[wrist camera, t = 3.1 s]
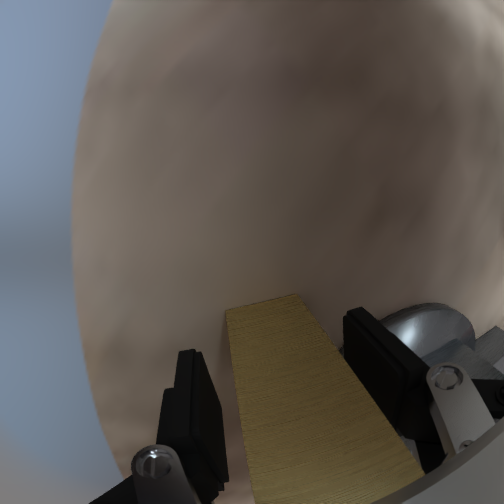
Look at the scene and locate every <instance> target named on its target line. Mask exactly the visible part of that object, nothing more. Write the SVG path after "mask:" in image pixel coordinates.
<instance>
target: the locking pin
mask: <svg viewBox="0 0 504 504" xmlns="http://www.w3.org/2000/svg"><path fill="white" fill-rule="evenodd" d="M225 311H226V320H227V328H228V336H229V344H230V351H231V359H232V366H233V373H234V380H235V387H236V394H237V401H238V407H239V414H240V420H241V427H242V433H243V439H244V445H245V451H246V457H247V462H248V468H249V474H250V479H251V485H252V490H253V495H254V500H255V504H370V503H372V502H374V501H377V500H379V499H381V498H383V497H385V496H387V495H389V494H391V493H394V492H396V491H397V490H399V489H401V488H403V487H405V486H407V485H409V484H411V483H413V482H414V481H416V480H418V479H420V478H421V477H423V476H425V475H426V474H425V473H424V471H423V470H422V469H421V467H420V466H419V464H418V463H417V461H416V460H415V458H414V457H413V456H412V454H411V453H410V451H409V450H408V448H407V447H406V445H405V444H404V443H403V441H402V440H401V438H400V437H399V435H398V434H397V433H396V431H395V430H394V428H393V427H392V425H391V424H390V423H389V421H388V420H387V418H386V417H385V416H384V414H383V413H382V411H381V410H380V408H379V407H378V406H377V404H376V403H375V401H374V400H373V399H372V397H371V396H370V394H369V393H368V392H367V390H366V389H365V387H364V386H363V385H362V383H361V382H360V380H359V379H358V378H357V376H356V375H355V373H354V372H353V371H352V369H351V368H350V366H349V365H348V364H347V362H346V361H345V359H344V358H343V357H342V355H341V354H340V353H339V351H338V350H337V348H336V347H335V346H334V344H333V343H332V341H331V340H330V339H329V337H328V336H327V335H326V333H325V332H324V330H323V329H322V328H321V326H320V325H319V324H318V322H317V321H316V319H315V318H314V317H313V315H312V314H311V313H310V311H309V310H308V309H307V307H306V306H305V304H304V303H303V302H302V300H301V299H300V298H299V296H298V295H297V294H294V295H290V296H286V297H281V298H277V299H273V300H269V301H265V302H260V303H256V304H252V305H247V306H243V307H238V308H234V309H229V310H225Z"/></svg>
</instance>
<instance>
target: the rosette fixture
mask: <svg viewBox="0 0 504 504" xmlns="http://www.w3.org/2000/svg"><path fill="white" fill-rule="evenodd" d="M379 322H380V323H381V324H382V325H383V326H384V327H385V328H387V329H388V330H389V331H390V332H392V333H393V334H395V335H396V336H397V337H398V338H399V339H400V340H401V341H402V342H403V343H404V344H405V345H407V346H408V347H409V348H410V349H411V350H412V351H413V352H414V353H415V354H416V355H417V356H418V357H420V358H421V359H422V360H423V361H424V362H425V363H426V364H427V365H428V366H429V367H430V368H432V367H433V366H434V365H436V364H439V363H444V362H451V363H455V364H458V365H460V366H461V367H463V369H464V370H465V371H466V372H467V374H468V376H469V377H470V379H497V380H504V331H503V330H502V329H500V328H499V327H497V326H495V327H494V328H492V329H491V330H490V331H488V332H487V333H485V334H484V335H483V336H481V337H480V338H478V339H477V340H475V332H474V329H473V326H472V324H471V323H470V321H469V320H468V319H467V318H466V317H465V316H464V315H463V314H461V313H460V312H458V311H457V310H455V309H453V308H451V307H449V306H447V305H444V304H440V303H425V304H419V305H415V306H412V307H408V308H405V309H402V310H400V311H398V312H396V313H394V314H391V315H389V316H387V317H385V318H384V319H382V320H380V321H379ZM339 353H340V354H341V355H342V357H343V358H344V346H343V347H342V348H341V349H340V350H339ZM400 438H401V440H402V441H403V443H404V444H405V445H406V447H407V448H408V450H409V451H410V453H411V454H412V451H411V447H410V443H409V439H405V437H404V436H401V437H400ZM412 456H413V455H412Z"/></svg>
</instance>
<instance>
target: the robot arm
mask: <svg viewBox="0 0 504 504" xmlns="http://www.w3.org/2000/svg"><path fill="white" fill-rule="evenodd" d="M343 336H344V359H345V361H346V362H347V364H348V365H349V366H350V368H351V369H352V371H353V372H354V373H355V375H356V376H357V378H358V379H359V380H360V382H361V383H362V385H363V386H364V387H365V389H366V390H367V392H368V393H369V394H370V396H371V397H372V399H373V400H374V401H375V403H376V404H377V406H378V407H379V408H380V410H381V411H382V413H383V414H384V416H385V417H386V418H387V420H388V421H389V423H390V424H391V425H392V427H393V428H394V430H395V431H396V433H397V434H398V435H399V437H401V436H404V437H405V439H409V443H410V447H411V451H412V455H413V457H414V458H415V460H416V461H417V463H418V464H419V466H420V467H421V469H422V470H423V471H424V473H425V474H426V475H425V476H423V477H421V478H420V479H418V480H416V481H414V482H413V483H411V484H409V485H407V486H405V487H403V488H401V489H399V490H397V491H396V492H394V493H391V494H389V495H387V496H385V497H383V498H381V499H379V500H377V501H374V502H372V503H370V504H504V380H497V379H470V377H469V376H468V374H467V372H466V371H465V370H464V369H463V367H461V366H460V365H458V364H455V363H451V362H444V363H439V364H436V365H434V366H433V367H432V368H430V367H429V366H428V365H427V364H426V363H425V362H424V361H423V360H422V359H421V358H420V357H418V356H417V355H416V354H415V353H414V352H413V351H412V350H411V349H410V348H409V347H408V346H407V345H405V344H404V343H403V342H402V341H401V340H400V339H399V338H398V337H397V336H396V335H395V334H393V333H392V332H390V331H389V330H388V329H387V328H385V327H384V326H383V325H382V324H381V323H380V322H379V321H378V320H377V319H376V318H374V317H373V316H372V315H371V314H370V313H369V312H368V311H367V310H365V309H364V308H363V307H358V308H355V309H352V310H349V311H347V315H346V316H344V317H343ZM131 471H132V475H131V476H129V477H128V478H126V479H125V480H124V481H122V482H121V483H119V484H118V485H116V486H115V487H113V488H112V489H111V490H109V491H108V492H106V493H104V494H103V495H102V496H100V497H98V498H97V499H95V500H93V501H92V502H90V503H89V504H215V503H214V501H213V500H214V499H215V498H216V497H217V496H218V495H219V493H218V491H224V483H225V482H229V475H228V467H227V458H226V448H225V439H224V428H223V417H222V408H221V404H220V401H219V399H218V396H217V393H216V391H215V388H214V385H213V383H212V380H211V377H210V375H209V372H208V369H207V366H206V363H205V361H204V358H203V355H202V353H201V351H200V352H196V350H195V349H189V350H183V351H179V354H178V360H177V367H176V375H175V382H174V388H167V389H165V390H164V393H163V400H162V406H161V412H160V419H159V426H158V433H157V440H156V445H150V446H147V447H145V448H143V449H141V450H140V451H138V452H137V453H136V455H135V456H134V457H133V459H132V462H131Z"/></svg>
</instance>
